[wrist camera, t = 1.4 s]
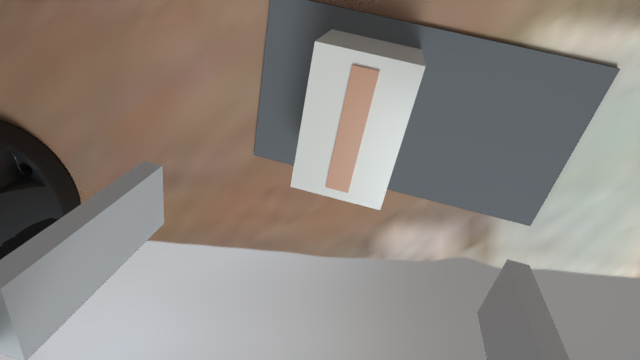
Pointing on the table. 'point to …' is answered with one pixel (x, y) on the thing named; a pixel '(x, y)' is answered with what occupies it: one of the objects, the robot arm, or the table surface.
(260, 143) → the mat
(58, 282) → the robot arm
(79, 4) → the table surface
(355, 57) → the white rectangular block
